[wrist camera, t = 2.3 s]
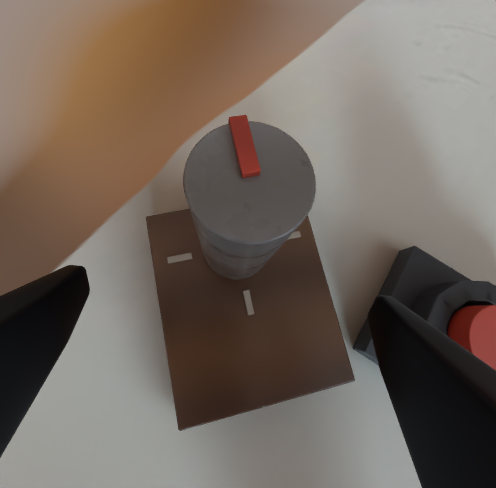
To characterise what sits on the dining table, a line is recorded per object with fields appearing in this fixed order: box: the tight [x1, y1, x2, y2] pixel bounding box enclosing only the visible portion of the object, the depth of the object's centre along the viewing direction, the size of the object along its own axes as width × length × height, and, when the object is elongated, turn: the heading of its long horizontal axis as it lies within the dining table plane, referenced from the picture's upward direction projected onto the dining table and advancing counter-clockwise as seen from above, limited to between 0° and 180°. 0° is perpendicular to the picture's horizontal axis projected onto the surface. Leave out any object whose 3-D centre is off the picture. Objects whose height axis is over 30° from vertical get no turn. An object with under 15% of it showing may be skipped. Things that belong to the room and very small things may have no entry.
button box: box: [353, 246, 496, 365], centre depth 18 cm, size 10×8×4 cm
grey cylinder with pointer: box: [183, 115, 316, 280], centre depth 13 cm, size 4×4×9 cm
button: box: [447, 305, 496, 370], centre depth 16 cm, size 4×4×2 cm
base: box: [146, 209, 355, 431], centre depth 18 cm, size 13×10×3 cm
